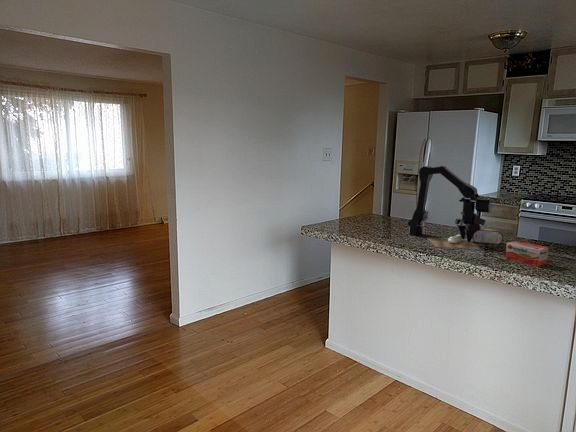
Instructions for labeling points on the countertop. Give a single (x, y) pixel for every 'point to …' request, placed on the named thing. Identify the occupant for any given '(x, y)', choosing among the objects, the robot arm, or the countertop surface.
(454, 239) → the peg
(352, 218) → the countertop surface
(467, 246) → the brown board
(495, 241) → the tin
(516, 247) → the medicine box
